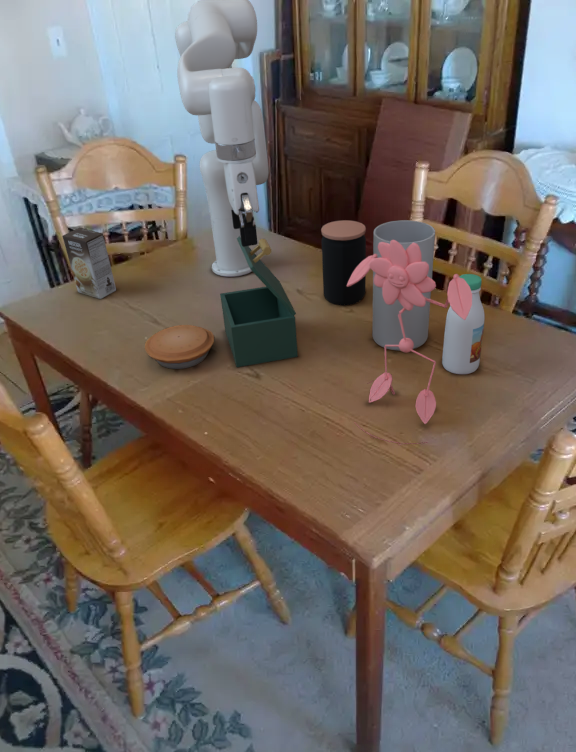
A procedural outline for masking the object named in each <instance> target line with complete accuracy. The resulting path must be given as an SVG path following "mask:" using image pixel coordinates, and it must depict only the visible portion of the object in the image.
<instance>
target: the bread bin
mask: <svg viewBox="0 0 576 752" xmlns="http://www.w3.org/2000/svg"><path fill="white" fill-rule="evenodd" d="M219 296H220V304H221V311H222V317H223V324H224V331H225V332H224V333H225V335H226V338H227V341H228V345H229V349H230V351H231V354H232V357H233V360H234V364H235V367H236V368H240V367H241V368H242V367H246V366H247V367H248V366H253V365H259V364H264V363H271V362H275V361H276V362H277V361H282V360H288V359H292V358H298V356H299V355H298V341H297V338H298V337H297V325H296V315H294V316H293V315H292V314H291V313H290V312H289V311H288V310H287V308H286V307H285V306H284V305H283V304H282V303H281V302H280V301H279V300H278V299H277V298H276V296H275V295H274V294H273V293H272V292H271V291H270V290H269V289H268V288H267V287H266V286H262V287H253V288H247V289H241V290H235V291H227V292H221V293H219Z"/></svg>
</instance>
